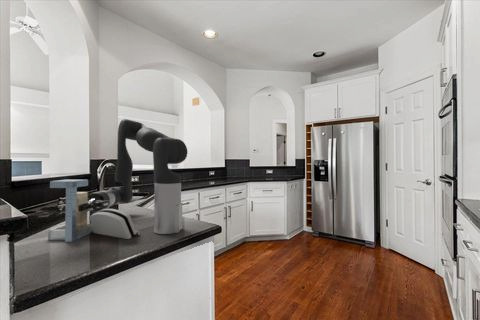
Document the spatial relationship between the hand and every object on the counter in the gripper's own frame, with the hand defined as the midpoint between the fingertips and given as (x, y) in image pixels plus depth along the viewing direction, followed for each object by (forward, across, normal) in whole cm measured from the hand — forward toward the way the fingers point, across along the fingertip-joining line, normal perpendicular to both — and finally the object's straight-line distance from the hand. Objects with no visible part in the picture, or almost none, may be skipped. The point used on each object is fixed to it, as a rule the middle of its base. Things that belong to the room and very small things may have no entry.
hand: (72, 208), depth 80 cm
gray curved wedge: (-1, +13, +9) cm, 16 cm away
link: (-3, 0, +7) cm, 8 cm away
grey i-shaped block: (+1, 0, +9) cm, 9 cm away
